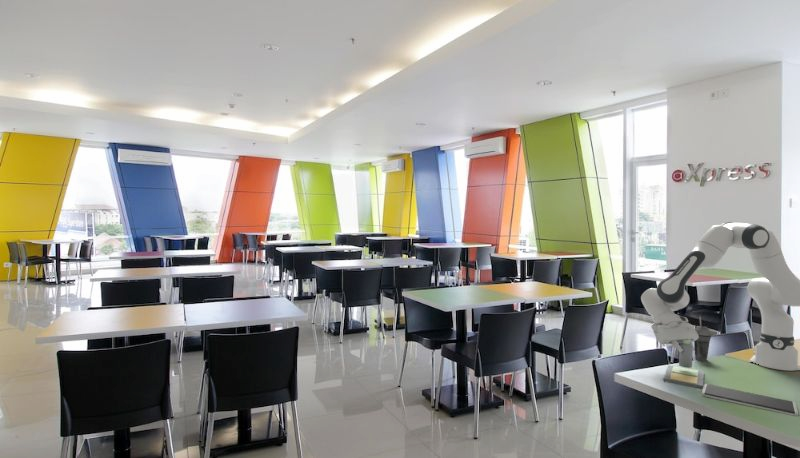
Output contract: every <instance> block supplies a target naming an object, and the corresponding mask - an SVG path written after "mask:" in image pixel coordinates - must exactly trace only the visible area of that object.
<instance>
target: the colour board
mask: <svg viewBox="0 0 800 458" xmlns="http://www.w3.org/2000/svg"><path fill="white" fill-rule="evenodd" d="M704 377H705V371H704V370H698V369H691V368H686V367H682V366H674V365H670V364H668V365H667V367H666V371H665V374H664V377H663V381H664V382H666V381H669V382H668V383H672V382H673V384H679V385H683V386H688V387H694V388H698V387H699V388H698V389H703V387H704Z"/></svg>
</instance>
